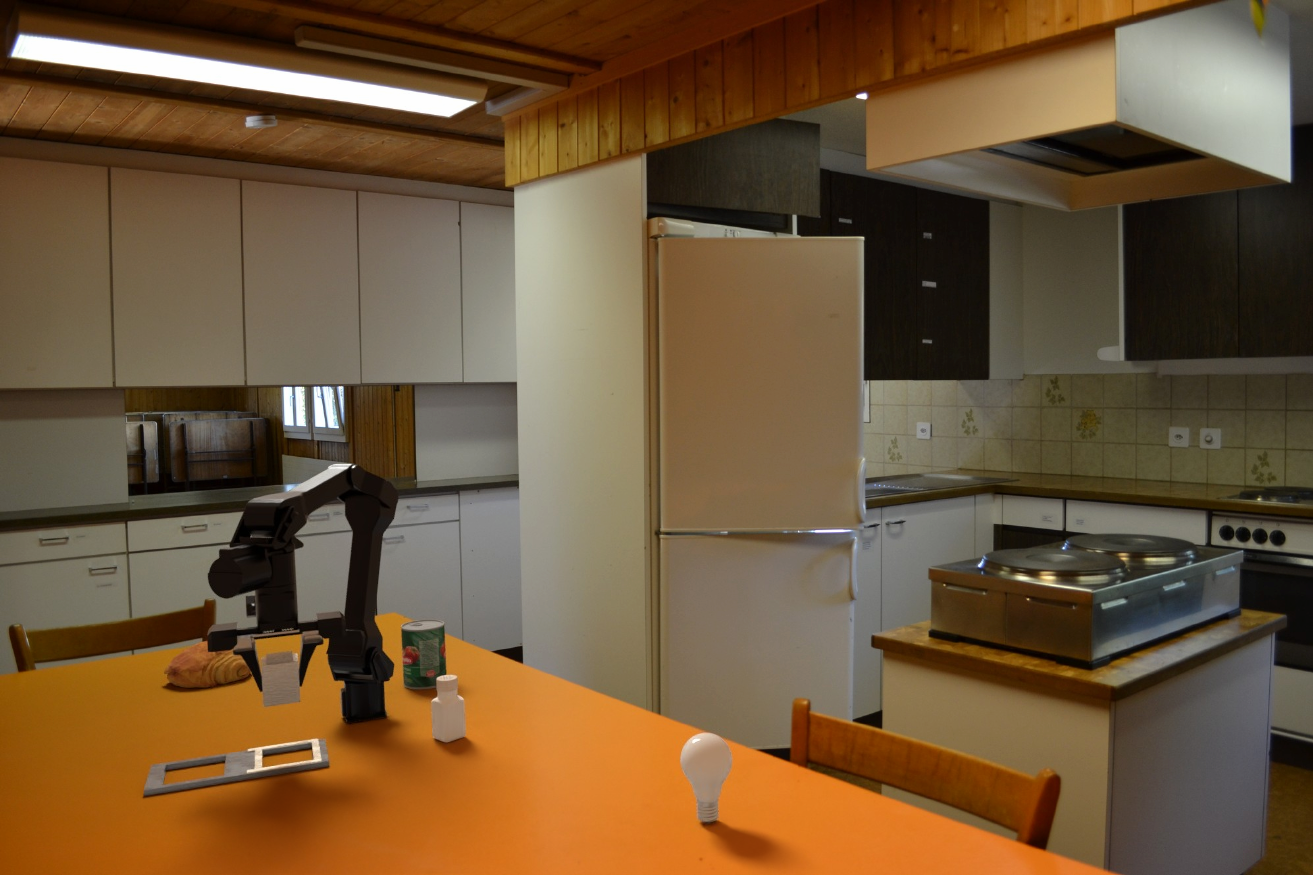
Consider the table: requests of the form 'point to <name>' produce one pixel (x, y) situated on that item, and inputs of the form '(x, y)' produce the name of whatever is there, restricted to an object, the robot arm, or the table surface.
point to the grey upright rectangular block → (280, 678)
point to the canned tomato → (423, 653)
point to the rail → (238, 766)
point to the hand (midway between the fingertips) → (281, 688)
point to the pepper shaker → (448, 710)
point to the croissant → (205, 667)
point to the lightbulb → (706, 771)
